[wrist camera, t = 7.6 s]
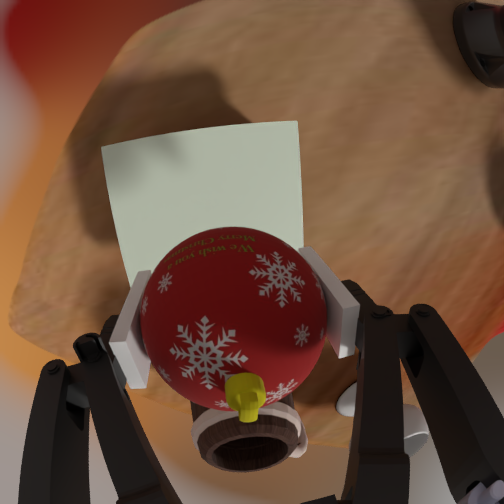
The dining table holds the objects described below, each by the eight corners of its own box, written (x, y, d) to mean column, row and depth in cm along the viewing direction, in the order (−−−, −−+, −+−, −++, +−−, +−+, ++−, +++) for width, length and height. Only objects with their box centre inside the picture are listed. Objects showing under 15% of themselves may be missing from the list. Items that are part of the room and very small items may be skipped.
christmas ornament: (306, 209, 17) (409, 299, 8) (288, 334, 20) (337, 457, 11) (151, 205, 16) (84, 303, 6) (160, 335, 19) (142, 470, 10)
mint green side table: (126, 143, 28) (101, 146, 21) (276, 123, 30) (297, 120, 22) (151, 279, 35) (139, 317, 27) (284, 261, 36) (304, 295, 29)
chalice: (360, 363, 45) (400, 430, 31) (409, 371, 49) (448, 425, 35) (316, 415, 49) (341, 480, 35) (368, 418, 53) (396, 471, 39)
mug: (164, 373, 40) (156, 459, 27) (232, 309, 38) (247, 400, 24) (260, 420, 47) (275, 491, 34) (325, 371, 45) (359, 445, 31)
